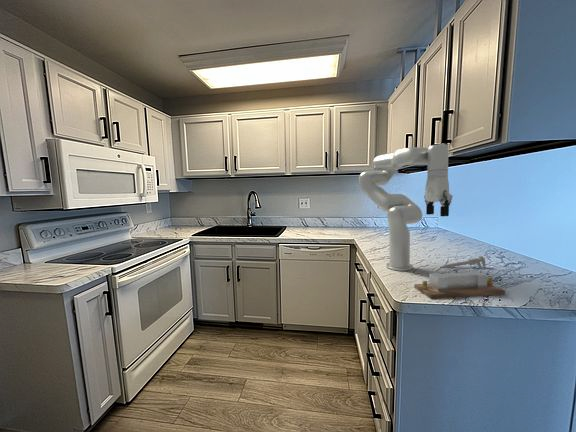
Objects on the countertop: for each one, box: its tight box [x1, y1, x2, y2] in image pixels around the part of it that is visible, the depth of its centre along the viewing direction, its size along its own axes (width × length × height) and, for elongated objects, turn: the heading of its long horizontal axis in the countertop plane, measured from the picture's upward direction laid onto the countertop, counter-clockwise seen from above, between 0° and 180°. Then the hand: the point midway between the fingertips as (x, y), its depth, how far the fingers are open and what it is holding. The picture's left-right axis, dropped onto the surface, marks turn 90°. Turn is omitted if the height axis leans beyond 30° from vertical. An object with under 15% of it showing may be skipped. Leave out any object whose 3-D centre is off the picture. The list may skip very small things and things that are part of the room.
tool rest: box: [413, 276, 506, 300], centre depth 100 cm, size 11×28×4 cm, turn 93°
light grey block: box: [428, 270, 488, 291], centre depth 100 cm, size 6×19×5 cm, turn 93°
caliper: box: [440, 255, 486, 269], centre depth 129 cm, size 20×1×6 cm, turn 83°
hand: (437, 215), depth 110 cm, fingers open, 9 cm apart
